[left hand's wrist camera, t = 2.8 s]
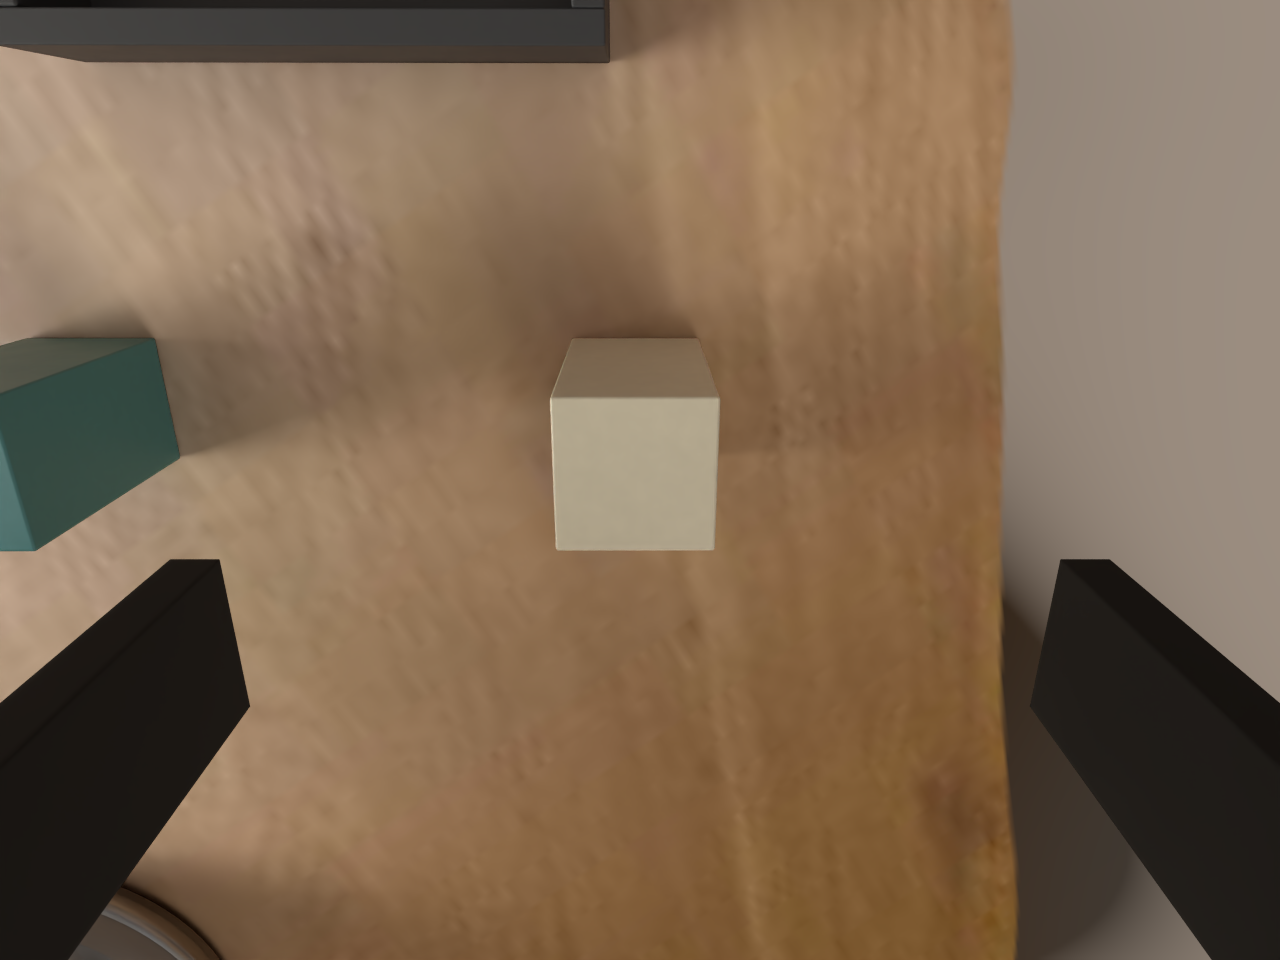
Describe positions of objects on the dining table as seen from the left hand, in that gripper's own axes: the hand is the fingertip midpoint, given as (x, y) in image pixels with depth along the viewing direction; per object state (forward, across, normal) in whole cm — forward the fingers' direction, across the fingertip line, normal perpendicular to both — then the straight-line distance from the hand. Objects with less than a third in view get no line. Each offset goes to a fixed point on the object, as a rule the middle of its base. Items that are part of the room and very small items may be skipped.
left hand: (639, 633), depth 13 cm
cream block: (+14, 0, 0) cm, 14 cm away
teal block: (+14, +17, 0) cm, 22 cm away
